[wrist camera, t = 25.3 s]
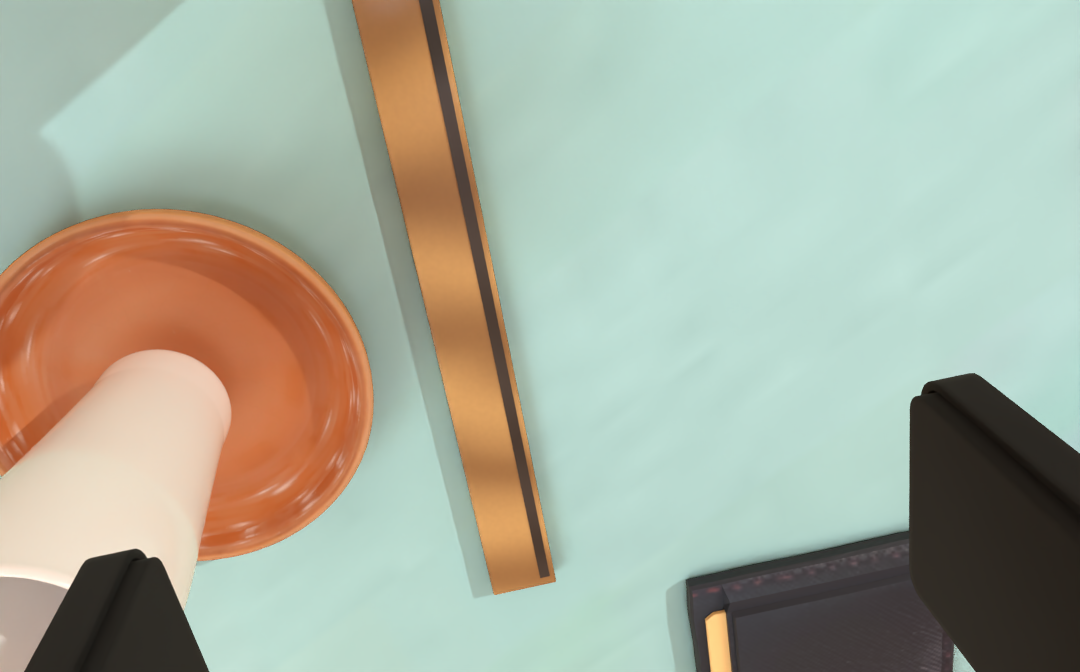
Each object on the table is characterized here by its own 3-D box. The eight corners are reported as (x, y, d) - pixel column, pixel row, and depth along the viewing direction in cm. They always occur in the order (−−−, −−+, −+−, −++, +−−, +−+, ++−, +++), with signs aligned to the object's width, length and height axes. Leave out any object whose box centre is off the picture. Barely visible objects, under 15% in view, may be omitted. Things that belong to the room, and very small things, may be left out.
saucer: (341, 171, 37) (334, 190, 34) (401, 497, 44) (400, 535, 41) (-65, 220, 36) (-105, 243, 33) (60, 548, 42) (35, 589, 40)
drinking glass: (141, 498, 38) (-14, 804, 25) (42, 369, 36) (-194, 634, 22) (283, 434, 38) (206, 709, 24) (194, 299, 35) (51, 524, 22)
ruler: (343, -42, 34) (341, -42, 33) (427, -57, 34) (427, -57, 33) (492, 585, 46) (494, 596, 45) (554, 571, 46) (556, 582, 46)
